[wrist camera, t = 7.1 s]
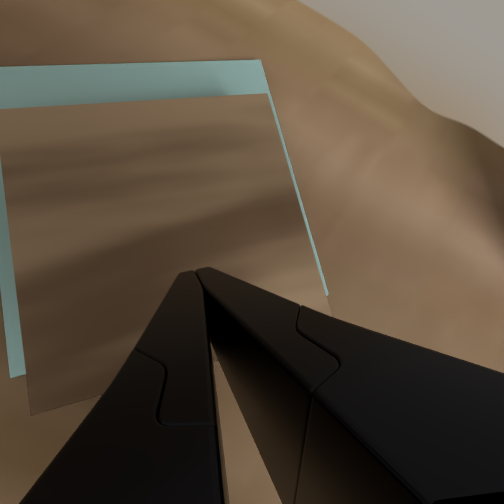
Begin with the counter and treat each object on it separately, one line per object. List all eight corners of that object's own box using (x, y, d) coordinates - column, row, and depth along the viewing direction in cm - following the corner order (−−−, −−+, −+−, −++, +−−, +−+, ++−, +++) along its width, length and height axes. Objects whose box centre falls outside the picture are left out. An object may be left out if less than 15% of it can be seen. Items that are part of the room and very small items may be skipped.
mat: (325, 295, 18) (328, 294, 18) (14, 376, 14) (10, 378, 14) (258, 64, 21) (260, 59, 21) (-20, 73, 17) (-24, 67, 16)
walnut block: (334, 325, 14) (267, 93, 16) (30, 415, 11) (-6, 109, 13) (304, 325, 17) (252, 133, 19) (66, 394, 14) (32, 154, 16)
